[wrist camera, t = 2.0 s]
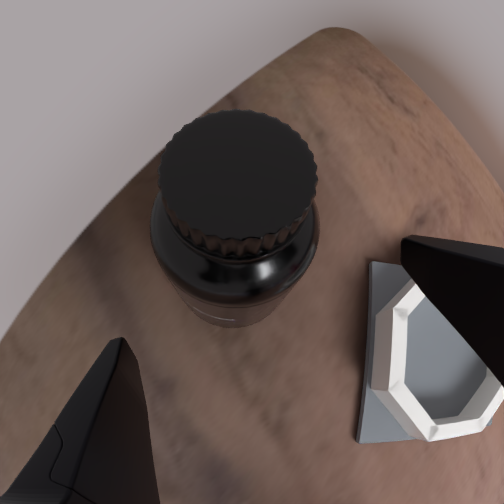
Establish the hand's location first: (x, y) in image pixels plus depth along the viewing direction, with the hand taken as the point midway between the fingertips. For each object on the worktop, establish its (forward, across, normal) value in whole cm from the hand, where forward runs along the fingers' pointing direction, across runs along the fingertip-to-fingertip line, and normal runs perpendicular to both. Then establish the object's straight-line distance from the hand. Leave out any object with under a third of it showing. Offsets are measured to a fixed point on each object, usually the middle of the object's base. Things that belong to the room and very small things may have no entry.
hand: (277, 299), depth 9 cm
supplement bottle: (+10, 0, +5) cm, 12 cm away
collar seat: (+3, -12, +12) cm, 17 cm away
